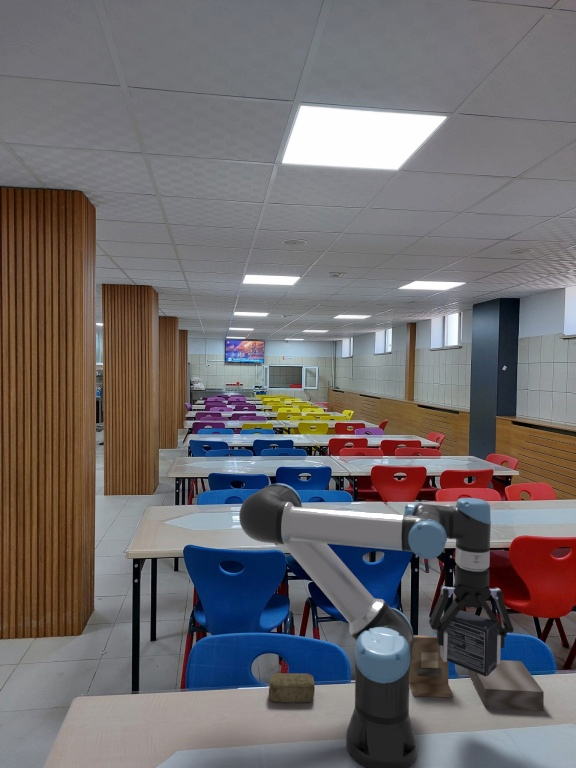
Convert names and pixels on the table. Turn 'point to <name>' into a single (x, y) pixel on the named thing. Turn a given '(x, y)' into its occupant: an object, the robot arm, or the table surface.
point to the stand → (428, 669)
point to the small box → (472, 643)
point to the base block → (509, 687)
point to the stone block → (291, 687)
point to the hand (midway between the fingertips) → (469, 659)
